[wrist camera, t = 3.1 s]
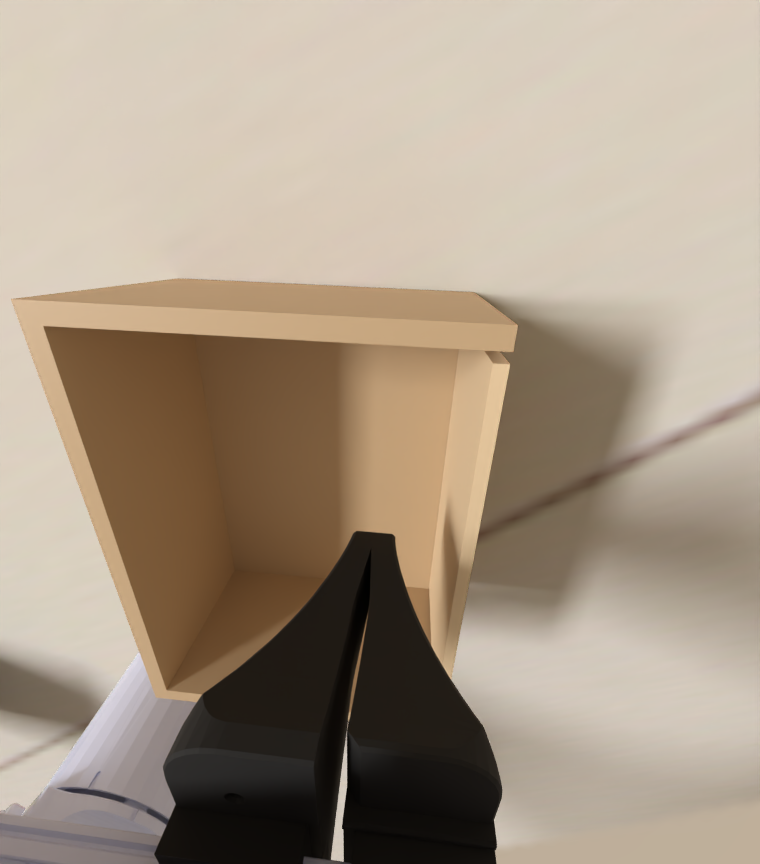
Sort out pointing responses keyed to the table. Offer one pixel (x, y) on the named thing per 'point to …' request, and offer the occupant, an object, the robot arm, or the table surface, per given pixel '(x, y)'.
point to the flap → (464, 491)
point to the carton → (250, 445)
